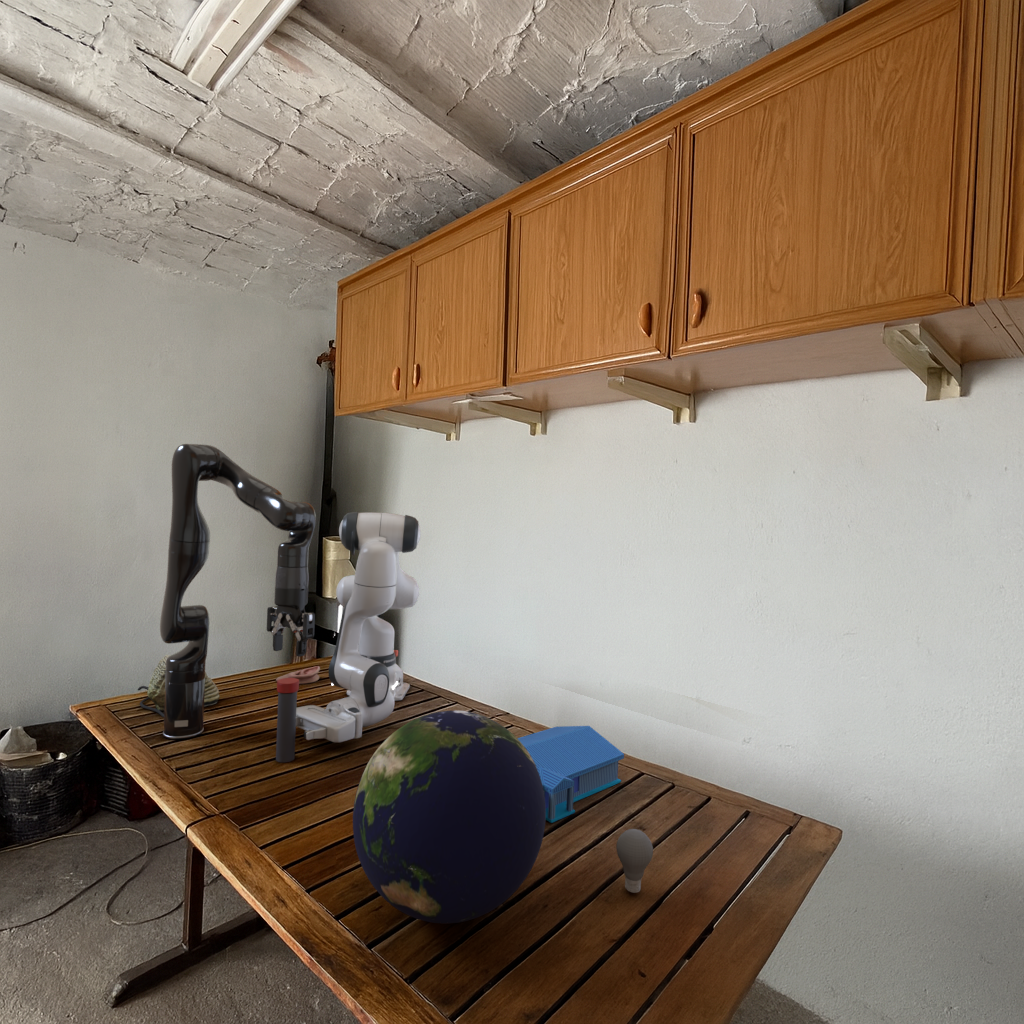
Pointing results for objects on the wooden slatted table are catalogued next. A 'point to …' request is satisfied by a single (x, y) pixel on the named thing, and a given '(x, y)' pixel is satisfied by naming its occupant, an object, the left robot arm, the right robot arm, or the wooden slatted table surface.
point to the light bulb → (634, 857)
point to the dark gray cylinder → (286, 727)
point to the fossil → (158, 687)
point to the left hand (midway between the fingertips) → (289, 653)
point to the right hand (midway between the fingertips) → (293, 731)
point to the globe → (449, 817)
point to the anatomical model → (303, 675)
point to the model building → (571, 765)
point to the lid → (287, 685)
